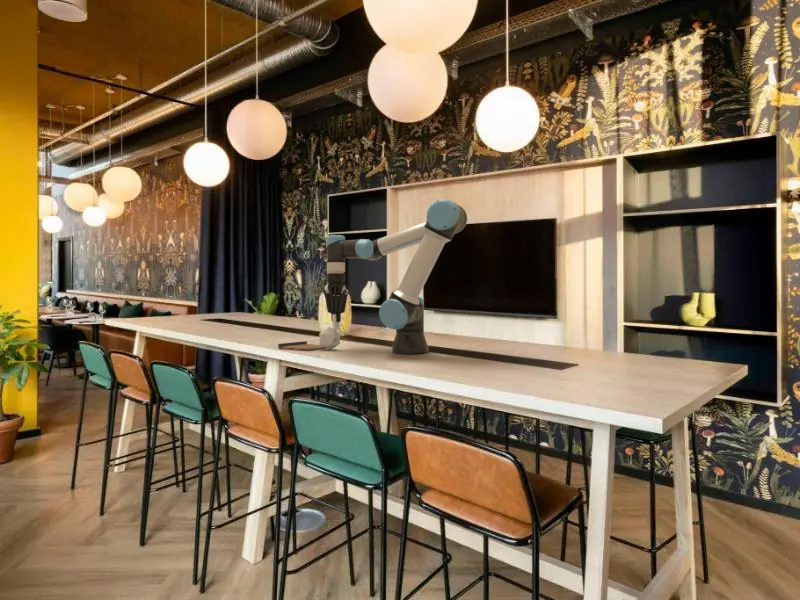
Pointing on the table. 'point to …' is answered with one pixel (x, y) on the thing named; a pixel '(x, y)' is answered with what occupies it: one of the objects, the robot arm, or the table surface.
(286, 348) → the board
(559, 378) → the table surface
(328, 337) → the die
